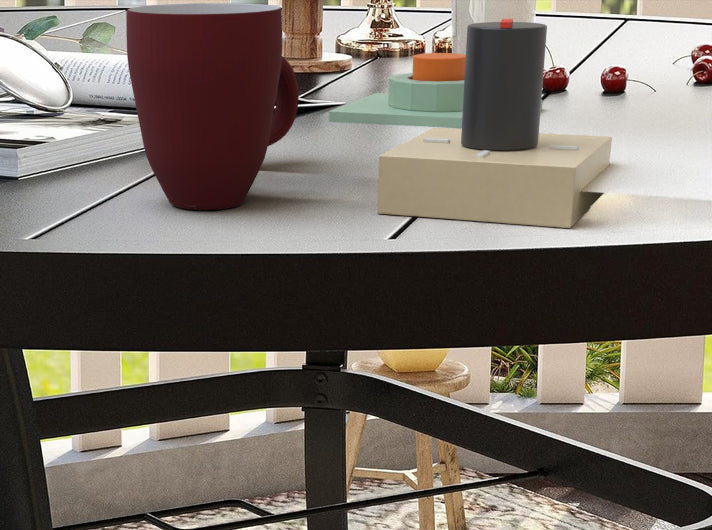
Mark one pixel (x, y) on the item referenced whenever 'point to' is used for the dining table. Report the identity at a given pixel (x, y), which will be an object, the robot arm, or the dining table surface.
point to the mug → (209, 96)
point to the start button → (439, 67)
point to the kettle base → (408, 104)
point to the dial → (503, 85)
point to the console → (492, 179)
